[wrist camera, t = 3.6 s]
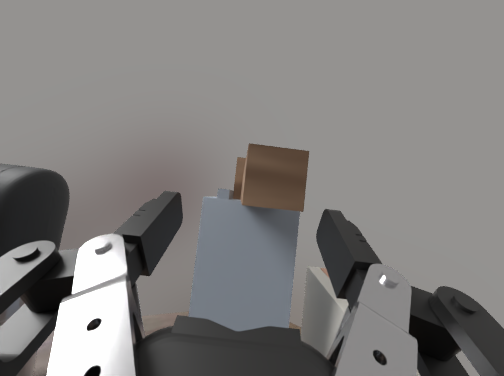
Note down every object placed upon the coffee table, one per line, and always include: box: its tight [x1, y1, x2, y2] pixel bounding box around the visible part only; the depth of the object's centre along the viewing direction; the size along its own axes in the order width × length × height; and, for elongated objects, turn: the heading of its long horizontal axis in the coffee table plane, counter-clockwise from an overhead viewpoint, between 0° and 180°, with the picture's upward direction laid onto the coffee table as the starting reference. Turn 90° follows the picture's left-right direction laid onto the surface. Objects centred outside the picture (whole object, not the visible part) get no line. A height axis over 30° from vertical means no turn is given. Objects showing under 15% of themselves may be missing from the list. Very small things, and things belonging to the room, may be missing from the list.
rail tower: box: [189, 189, 300, 331], centre depth 25 cm, size 13×10×33 cm
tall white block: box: [301, 266, 420, 376], centre depth 25 cm, size 13×9×22 cm
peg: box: [233, 144, 309, 212], centre depth 20 cm, size 20×6×6 cm, turn 4°
